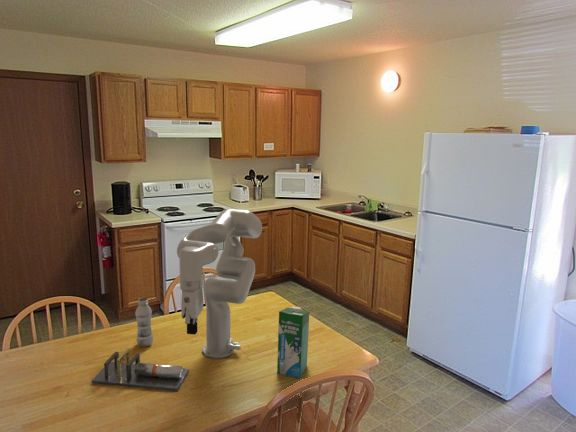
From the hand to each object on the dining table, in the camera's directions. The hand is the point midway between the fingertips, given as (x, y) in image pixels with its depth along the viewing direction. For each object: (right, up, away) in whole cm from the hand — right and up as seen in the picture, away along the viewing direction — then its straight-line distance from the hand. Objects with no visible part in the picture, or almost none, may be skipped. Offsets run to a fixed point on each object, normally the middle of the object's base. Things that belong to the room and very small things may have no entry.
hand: (192, 333), depth 145 cm
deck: (-20, -18, +6) cm, 27 cm away
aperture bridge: (-26, -16, +6) cm, 31 cm away
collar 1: (-30, -16, +6) cm, 35 cm away
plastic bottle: (-26, -13, +28) cm, 40 cm away
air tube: (-13, -17, +5) cm, 22 cm away
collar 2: (-22, -16, +6) cm, 28 cm away
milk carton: (+35, -18, +14) cm, 42 cm away
